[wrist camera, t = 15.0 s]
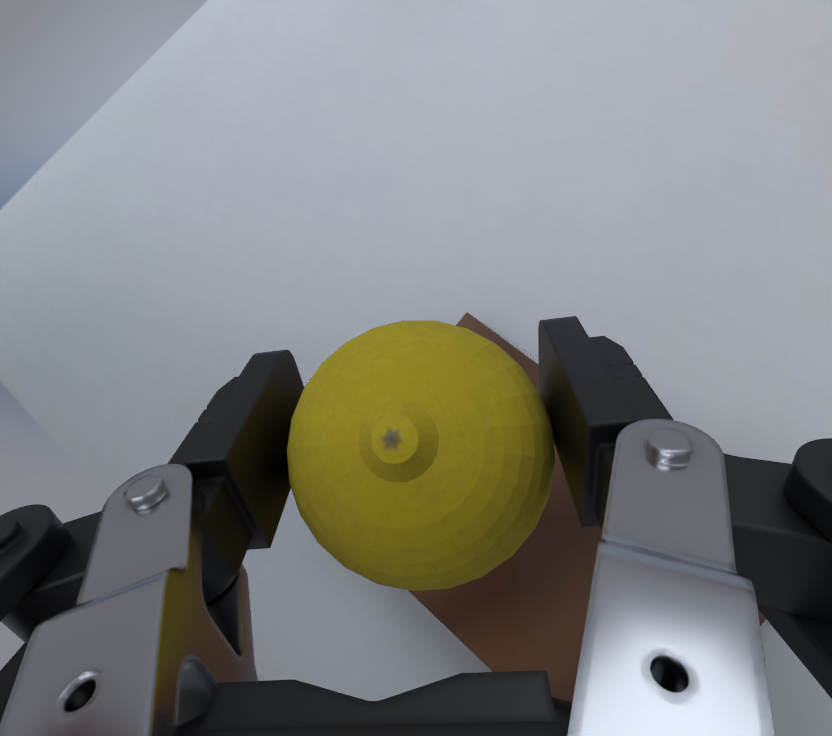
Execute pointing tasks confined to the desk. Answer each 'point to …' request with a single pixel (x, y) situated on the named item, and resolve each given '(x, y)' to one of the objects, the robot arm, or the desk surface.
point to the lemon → (420, 455)
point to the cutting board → (529, 584)
